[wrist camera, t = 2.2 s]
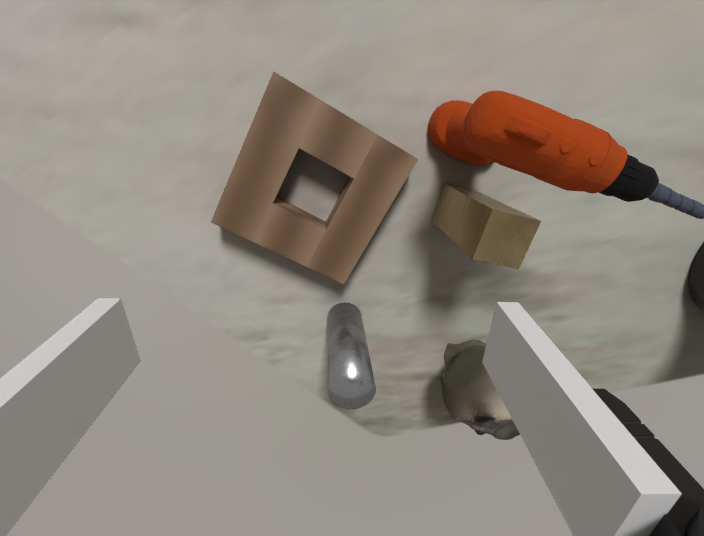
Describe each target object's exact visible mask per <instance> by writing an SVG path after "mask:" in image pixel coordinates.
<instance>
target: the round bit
mask: <svg viewBox="0 0 704 536" xmlns="http://www.w3.org/2000/svg"><path fill="white" fill-rule="evenodd" d="M327 321H328V368H329V396H330V398H331V400H332V402H333V403H334V404H336V405H337V406H339V407H341V408H345V409H357V408H361V407H363V406H365V405H367V404H368V403H369V402H370V401H371V400H372V399H373V397H374V395H375V392H376V387H375V382H374V377H373V372H372V367H371V362H370V356H369V351H368V346H367V341H366V336H365V331H364V326H363V321H362V316H361V312H360V310H359V309H358V308H357V307H356V306H355V305H353V304H351V303H340V304H337V305H335V306H334V307H332V308H331V309H330V311H329V313H328V317H327Z"/></svg>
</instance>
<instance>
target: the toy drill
mask: <svg viewBox="0 0 704 536" xmlns="http://www.w3.org/2000/svg"><path fill="white" fill-rule="evenodd" d="M428 134H429V137H430V139H431V141H432V142H433V143H434V144H435V145H436V147H438V148H439V149H440V150H442V151H443V152H445V153H446V154H448V155H450V156H452V157H454V158H456V159H458V160H461V161H463V162H466V163H469V164H472V165H487V164H490V163H492V162H493V161H494V162H496V163H498V164H500V165H503V166H506V167H508V168H511V169H514V170H517V171H520V172H523V173H526V174H528V175H531V176H533V177H535V178H537V179H539V180H542V181H544V182H547V183H549V184H552V185H554V186H557V187H560V188H562V189H565V190H571V191H585V192H588V193H597V192H599V193H601V194H604V195H607V196H614V197H617V198H619V199H621V200H624V201H627V202H630V201H638V200H643V199H645V198H649V200H651V201H655V202H659V203H663V204H664V205H666V206H669V207H672V208H674V209H676V210H679V211H681V212H683V213H686V214H688V215H691V216H693V217H696V218H699V219H703V218H704V205H702V204H701V203H699V202H697V201H695V200H692V199H690V198H688V197H686V196H683V195H681V194H678V193H676V192H675V191H673V190H672V189H670V188H667V187H666V186H664V185H662V184H660V183H658V182H659V179H658V176H657V174H656V172H655V170H654V169H653V168H652V167H649V166H647V165H645V164H642V163H640V162H639V161H638V159H636V158H634V157H632V156H630V155H628V154H627V151H626V149H625V148H624V147H622V146H620V145H618V144H617V142H616V141H615V140H614V139H613V138H612V137H611V136H610V134H609V133H608V132H606V131H604V130H602V129H599V128H597V127H595V126H593V125H591V124H589V123H586V122H584V121H582V120H578V119H572V118H570V117H568V116H566V115H564V114H561V113H559V112H557V111H555V110H552V109H550V108H548V107H545V106H543V105H540V104H538V103H535V102H533V101H530V100H527V99H525V98H522V97H519V96H516V95H513V94H510V93H506V92H503V91H490V92H487V93H484V94H483V95H481V96H480V97H479V98H478V99H477V100H476V101H475V102H474V103H473V104H471V103H468V102H464V101H459V100H458V101H449V102H446V103H444V104H442V105H440V106H439V107H438V108H437V109H436V110H435V111H434V112H433V114H432V116H431V118H430V121H429V124H428Z"/></svg>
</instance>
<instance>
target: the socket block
mask: <svg viewBox="0 0 704 536" xmlns="http://www.w3.org/2000/svg"><path fill="white" fill-rule="evenodd" d="M299 148H300V149H302V150H303V151H305V152H307V153H309V154H311V155H312V156H314V157H316V158H318V159H320V160H321V161H323V162H325V163H327V164H329V165H330V166H332V167H334V168H336V169H337V170H339V171H341V172H343V173H345V174H346V175H348V176H350V178H349V180H348V182H347V183H346V185H345V187H344V189H343V191H342V193H341V195H340V196H339V198H338V200H337V202H336V204H335V206H334V208H333V209H332V211H331V213H330V215H329V217H328V219H327V221H326V222H325V221H323V220H321V219H319V218H317V217H315V216H313V215H311V214H309V213H307V212H305V211H303V210H301V209H300V208H298V207H296V206H294V205H292V204H290V203H288V202H286V201H284V200H282V199H280V198H278V197H277V195H278V193H279V191H280V189H281V187H282V184H283V182H284V180H285V178H286V176H287V174H288V172H289V170H290V168H291V165H292V163H293V161H294V159H295V157H296V155H297V153H298V151H299ZM417 160H418V159H417V158H415V157H414V156H412V155H410V154H409V153H407V152H405V151H404V150H402V149H400V148H399V147H397V146H395V145H394V144H392V143H390V142H389V141H387V140H386V139H384V138H382V137H381V136H379V135H377V134H376V133H374V132H372V131H371V130H369V129H367V128H366V127H364V126H362V125H361V124H359V123H358V122H356V121H354V120H353V119H351V118H349V117H348V116H346V115H344V114H343V113H341V112H339V111H338V110H336V109H335V108H333V107H331V106H330V105H328V104H326V103H325V102H323V101H321V100H320V99H318V98H316V97H315V96H313V95H311V94H310V93H308V92H307V91H305V90H303V89H302V88H300V87H298V86H297V85H295V84H293V83H292V82H290V81H288V80H287V79H285V78H283V77H282V76H280V75H279V74H277V73H275V72H273V74H272V76H271V79H270V81H269V84H268V86H267V88H266V91H265V93H264V96H263V98H262V100H261V103H260V105H259V108H258V110H257V112H256V115H255V117H254V120H253V122H252V125H251V127H250V129H249V132H248V134H247V137H246V139H245V141H244V144H243V146H242V149H241V151H240V153H239V156H238V158H237V161H236V163H235V165H234V168H233V170H232V173H231V175H230V177H229V180H228V182H227V185H226V187H225V189H224V192H223V194H222V197H221V199H220V201H219V204H218V206H217V209H216V211H215V213H214V216H213V218H212V221H211V223H213V224H216V225H218V226H220V227H222V228H224V229H226V230H228V231H231V232H233V233H235V234H237V235H239V236H241V237H243V238H246V239H248V240H250V241H252V242H254V243H256V244H259V245H261V246H263V247H265V248H267V249H269V250H271V251H274V252H276V253H278V254H280V255H282V256H284V257H286V258H289V259H291V260H293V261H295V262H297V263H299V264H301V265H304V266H306V267H308V268H310V269H312V270H314V271H317V272H319V273H321V274H323V275H325V276H327V277H329V278H332V279H334V280H336V281H338V282H340V283H342V284H344V283H345V281H346V280H347V278H348V276H349V275H350V273H351V271H352V270H353V268H354V266H355V265H356V263H357V261H358V260H359V258H360V256H361V254H362V253H363V251H364V249H365V248H366V246H367V244H368V243H369V241H370V239H371V238H372V236H373V234H374V233H375V231H376V229H377V228H378V226H379V224H380V222H381V221H382V219H383V217H384V216H385V214H386V212H387V211H388V209H389V207H390V206H391V204H392V202H393V201H394V199H395V197H396V196H397V194H398V192H399V190H400V189H401V187H402V185H403V184H404V182H405V180H406V179H407V177H408V175H409V174H410V172H411V170H412V169H413V167H414V165H415V164H416V162H417Z"/></svg>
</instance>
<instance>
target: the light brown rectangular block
mask: <svg viewBox="0 0 704 536" xmlns="http://www.w3.org/2000/svg"><path fill="white" fill-rule="evenodd" d="M432 222H433V223H434V224H435V225H436V226H437V227H438V228H439V229H441V230H442V231H443V232H444V233H445V234H446V235H447V236H448V237H449V238H450V239H451V240H452V241H453V242H455V243H456V244H457V245H458V246H459V247H460V248H461V249H462V250H463V251H464V252H465V253H466V254H467V255H469V256H470V257H471V258H472V259H474V260H478V261H483V262H488V263H492V264H497V265H501V266H506V267H511V268H515V269H519V267H520V265H521V263H522V261H523V259H524V257H525V255H526V252H527V250H528V248H529V246H530V244H531V242H532V240H533V237H534V235H535V233H536V231H537V229H538V227H539V225H540V222H541V221H540V220H538V219H535V218H533V217H531V216H529V215H527V214H525V213H522V212H520V211H518V210H516V209H514V208H512V207H509V206H507V205H505V204H503V203H501V202H499V201H496V200H494V199H492V198H490V197H488V196H486V195H483V194H481V193H479V192H475V191H471V190H467V189H463V188H459V187H455V186H451V185H447V184H444V186H443V189H442V191H441V194H440V197H439V200H438V203H437V206H436V209H435V212H434V215H433V218H432Z"/></svg>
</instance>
